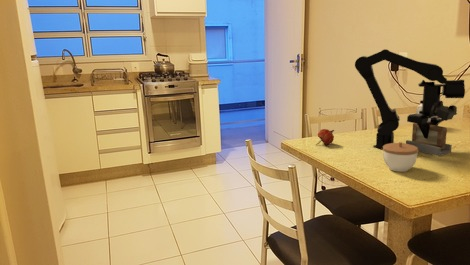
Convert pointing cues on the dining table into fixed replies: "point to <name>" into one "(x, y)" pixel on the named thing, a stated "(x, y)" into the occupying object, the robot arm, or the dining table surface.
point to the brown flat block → (430, 136)
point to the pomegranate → (326, 136)
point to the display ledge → (431, 148)
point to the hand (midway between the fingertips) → (428, 137)
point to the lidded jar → (400, 156)
